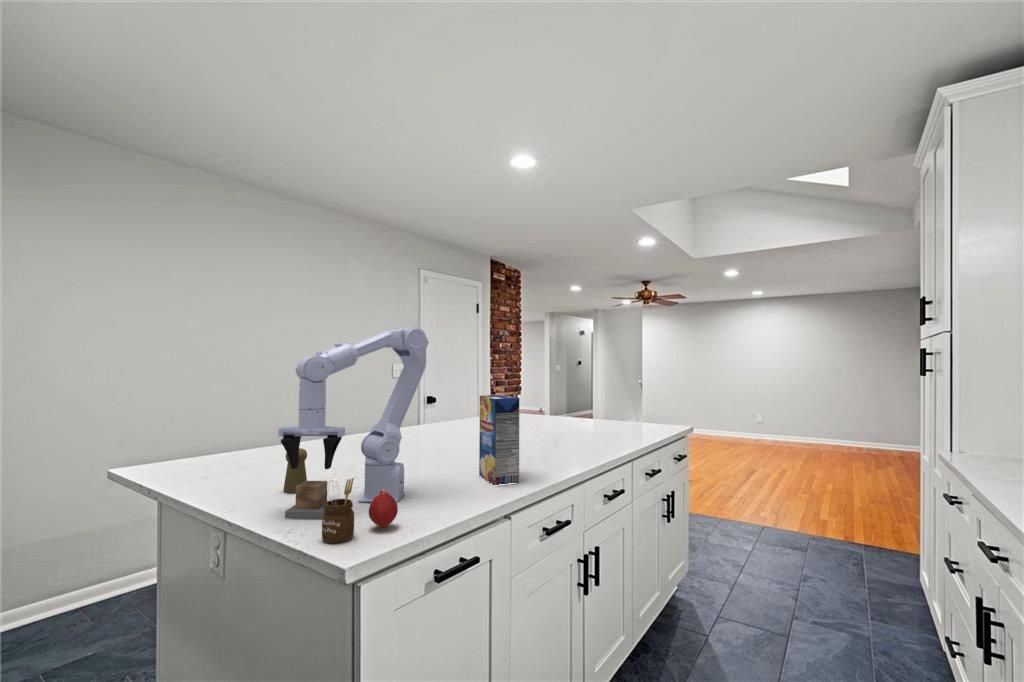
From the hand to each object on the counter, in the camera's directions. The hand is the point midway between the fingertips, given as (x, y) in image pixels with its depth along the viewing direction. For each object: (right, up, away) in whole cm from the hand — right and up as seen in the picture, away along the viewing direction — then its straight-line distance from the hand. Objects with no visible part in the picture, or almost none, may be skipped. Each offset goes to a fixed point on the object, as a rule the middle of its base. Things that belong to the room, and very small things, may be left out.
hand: (311, 468), depth 110 cm
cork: (-11, -11, +17) cm, 23 cm away
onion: (+19, -10, -11) cm, 24 cm away
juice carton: (+42, -11, +29) cm, 52 cm away
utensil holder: (+12, -10, -16) cm, 23 cm away
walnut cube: (+1, -8, -1) cm, 8 cm away
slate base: (0, -10, -1) cm, 10 cm away
